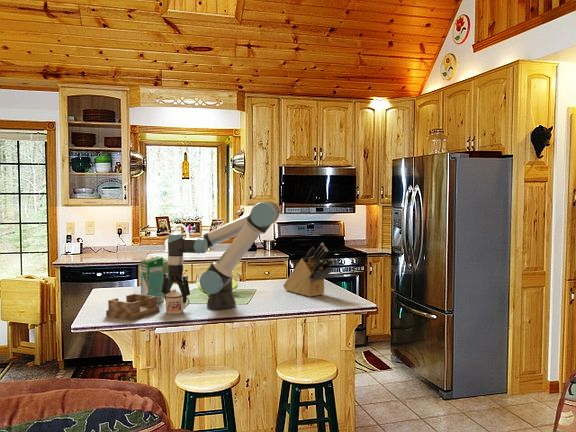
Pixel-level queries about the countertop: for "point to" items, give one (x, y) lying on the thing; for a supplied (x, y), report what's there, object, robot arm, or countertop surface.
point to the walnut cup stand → (132, 307)
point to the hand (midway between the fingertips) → (175, 307)
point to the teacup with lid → (174, 302)
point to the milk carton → (152, 277)
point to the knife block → (310, 273)
